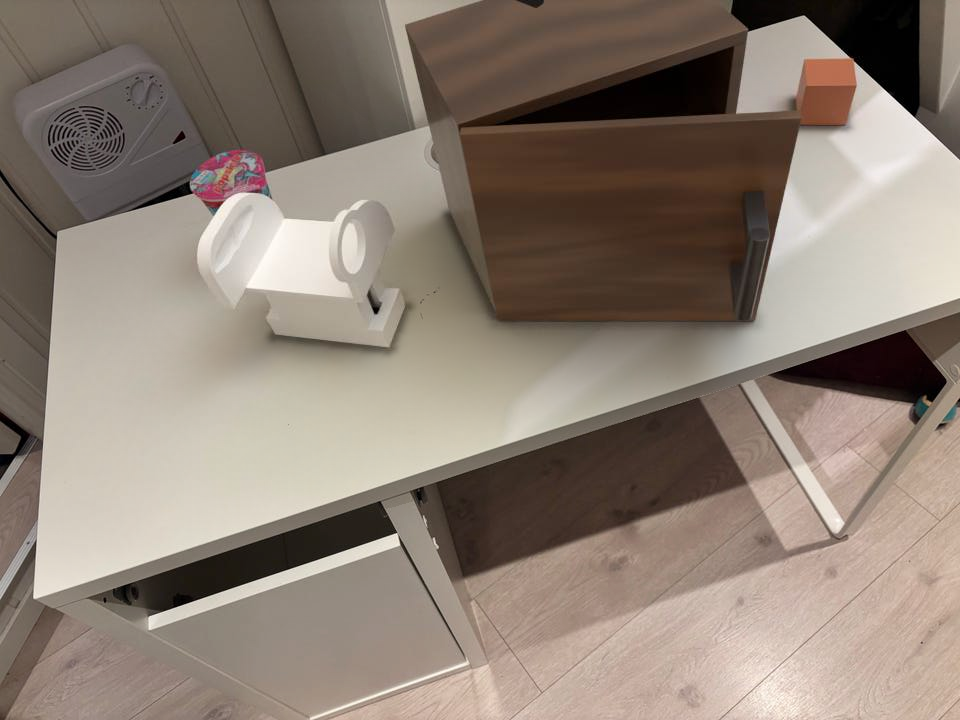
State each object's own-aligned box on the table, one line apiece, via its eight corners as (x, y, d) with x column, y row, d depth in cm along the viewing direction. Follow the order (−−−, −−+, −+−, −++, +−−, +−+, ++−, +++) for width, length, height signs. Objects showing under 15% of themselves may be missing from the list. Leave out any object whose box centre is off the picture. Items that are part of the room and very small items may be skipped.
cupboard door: (760, 367, 71) (812, 168, 52) (491, 364, 77) (448, 181, 57) (754, 313, 75) (800, 109, 56) (498, 313, 80) (460, 127, 61)
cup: (226, 277, 91) (180, 202, 81) (242, 229, 96) (200, 153, 86) (299, 271, 89) (261, 194, 80) (311, 222, 94) (276, 145, 85)
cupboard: (718, 235, 83) (748, 28, 63) (495, 313, 81) (457, 124, 61) (647, 145, 94) (654, -55, 74) (449, 211, 92) (404, 24, 72)
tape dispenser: (413, 287, 85) (372, 161, 71) (378, 379, 78) (323, 259, 64) (303, 277, 89) (242, 155, 74) (259, 364, 82) (182, 247, 67)
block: (842, 98, 93) (853, 58, 89) (845, 125, 90) (857, 85, 86) (795, 98, 95) (804, 58, 90) (797, 125, 92) (806, 85, 87)
